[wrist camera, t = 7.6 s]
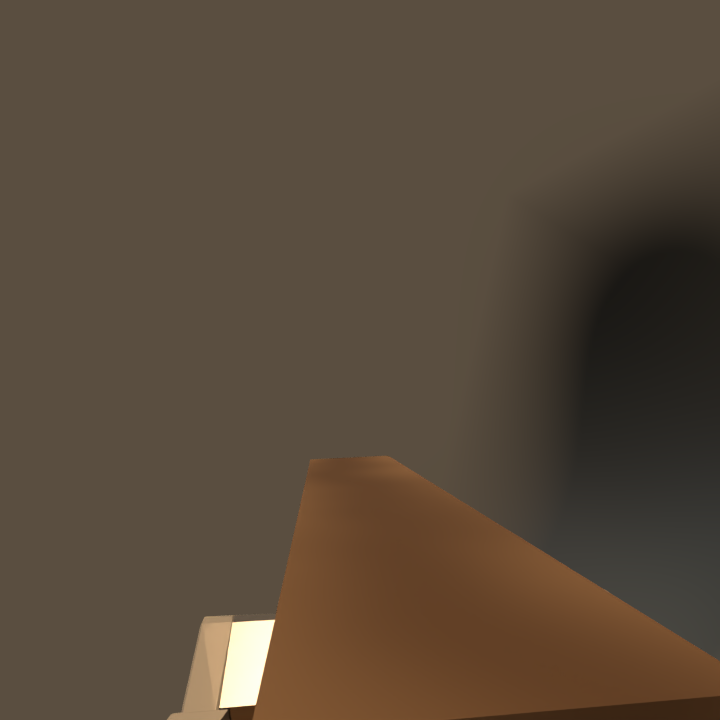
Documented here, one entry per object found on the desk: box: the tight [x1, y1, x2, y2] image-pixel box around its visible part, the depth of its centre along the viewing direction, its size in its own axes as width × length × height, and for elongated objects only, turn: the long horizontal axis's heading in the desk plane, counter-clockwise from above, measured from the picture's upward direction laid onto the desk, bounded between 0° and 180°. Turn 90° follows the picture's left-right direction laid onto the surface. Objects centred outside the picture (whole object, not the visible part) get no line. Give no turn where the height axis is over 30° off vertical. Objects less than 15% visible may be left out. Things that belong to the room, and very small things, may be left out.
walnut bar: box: [252, 456, 720, 720], centre depth 16 cm, size 4×24×4 cm, turn 4°
